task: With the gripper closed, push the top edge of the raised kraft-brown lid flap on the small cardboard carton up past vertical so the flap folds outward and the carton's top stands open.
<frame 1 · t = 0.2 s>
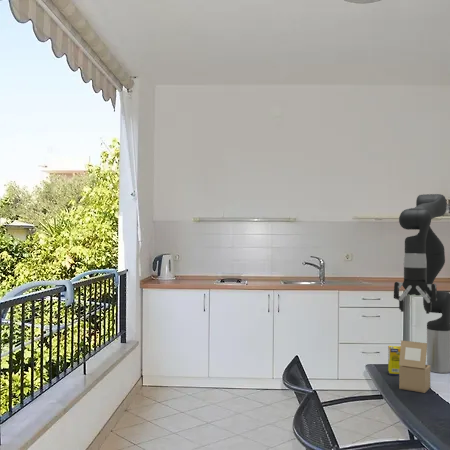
hand: (415, 312, 183), 29 cm above the table, fingers open, 8 cm apart
supplement box: (396, 374, 212), on the table
carton: (414, 388, 192), on the table
flap: (413, 354, 189), point 13 cm above the table, hinge at 70.0°
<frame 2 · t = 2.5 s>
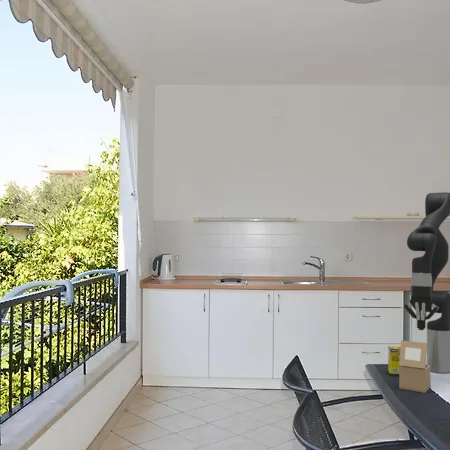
hand: (421, 329, 201), 20 cm above the table, fingers closed
nothing on the table moved.
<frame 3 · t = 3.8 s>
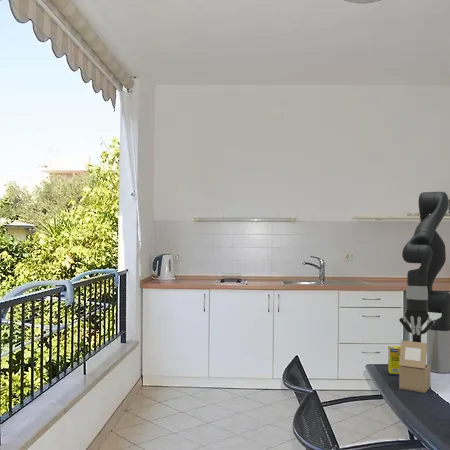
hand: (416, 344, 195), 15 cm above the table, fingers closed
nothing on the table moved.
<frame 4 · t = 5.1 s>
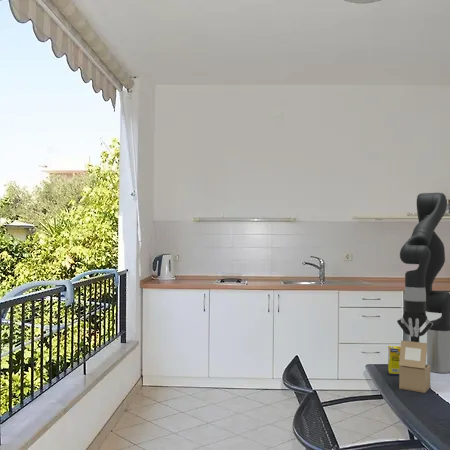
hand: (414, 346, 192), 15 cm above the table, fingers closed
flap: (413, 354, 189), point 13 cm above the table, hinge at 70.0°, touching gripper
everything else where it was.
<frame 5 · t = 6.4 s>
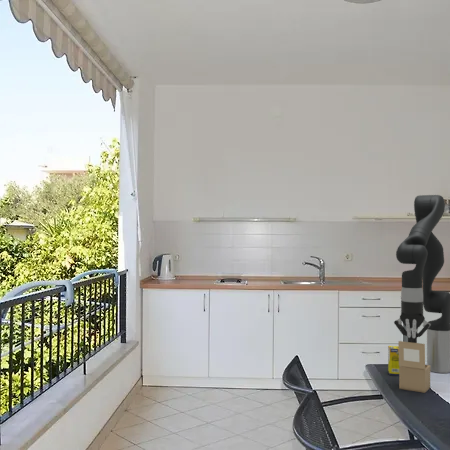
hand: (412, 347, 189), 15 cm above the table, fingers closed
flap: (411, 354, 188), point 13 cm above the table, hinge at 96.4°, touching gripper
everything else where it was.
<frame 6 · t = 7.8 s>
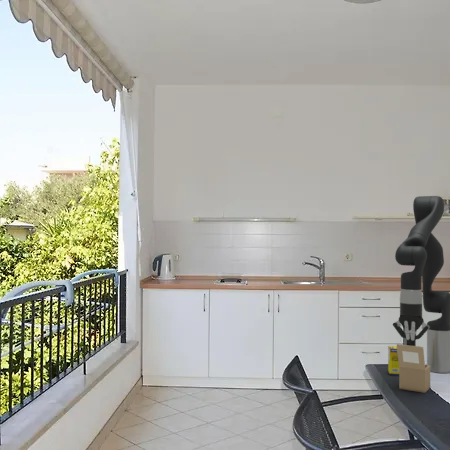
hand: (411, 350, 187), 15 cm above the table, fingers closed
flap: (410, 356, 187), point 13 cm above the table, hinge at 113.2°, touching gripper
everything else where it was.
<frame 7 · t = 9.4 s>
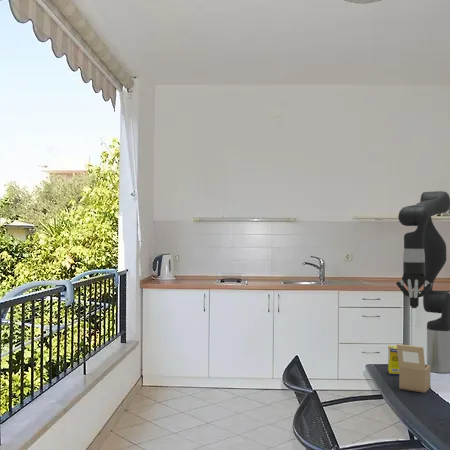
hand: (414, 307, 193), 29 cm above the table, fingers closed
flap: (410, 356, 187), point 13 cm above the table, hinge at 113.3°
everything else where it was.
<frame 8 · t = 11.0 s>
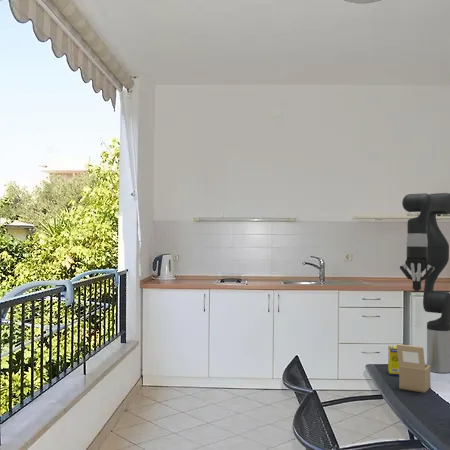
hand: (416, 290, 199), 35 cm above the table, fingers closed
nothing on the table moved.
at the end: flap at +113° (first picture: +70°); supplement box moved 0.2 cm from its start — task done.
